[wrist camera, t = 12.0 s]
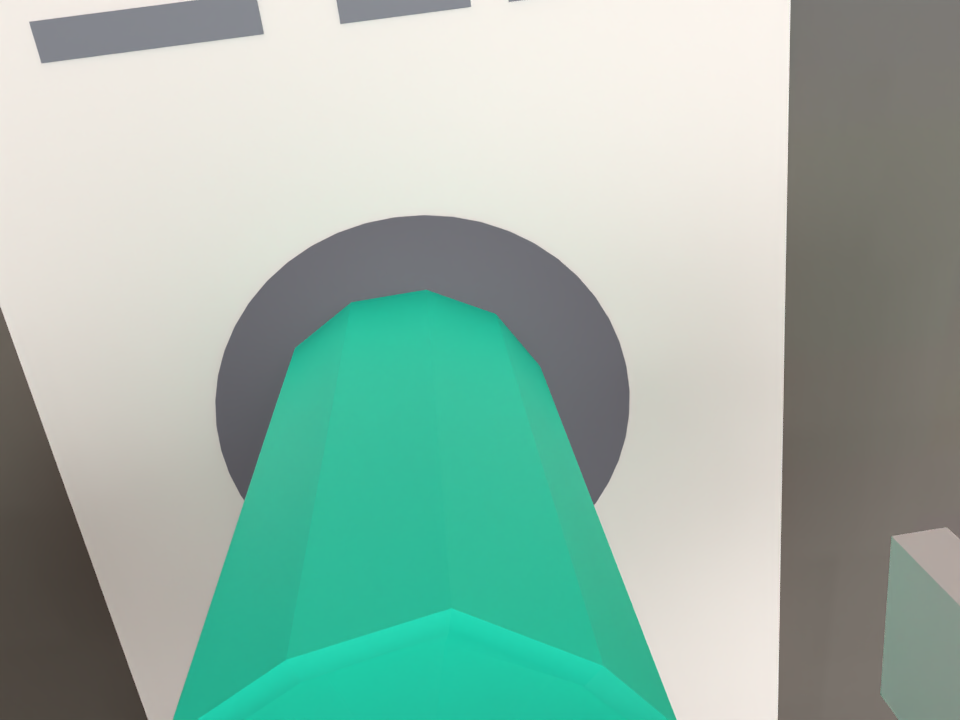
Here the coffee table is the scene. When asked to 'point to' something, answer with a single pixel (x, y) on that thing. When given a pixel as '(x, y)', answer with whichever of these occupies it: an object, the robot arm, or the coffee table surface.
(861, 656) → the coffee table surface
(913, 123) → the coffee table surface
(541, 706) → the candle
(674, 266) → the paper pad
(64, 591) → the coffee table surface
